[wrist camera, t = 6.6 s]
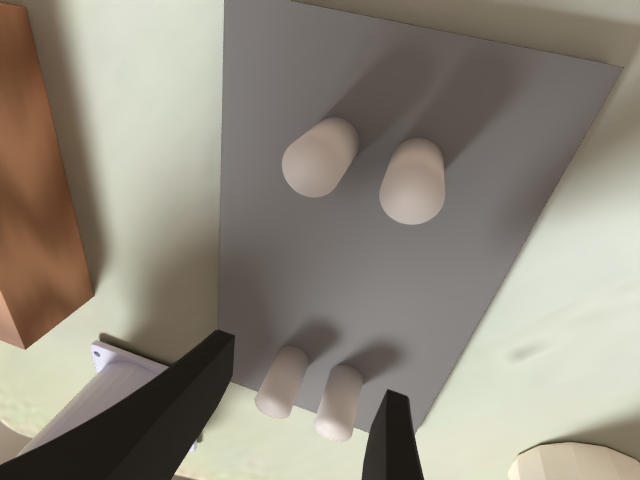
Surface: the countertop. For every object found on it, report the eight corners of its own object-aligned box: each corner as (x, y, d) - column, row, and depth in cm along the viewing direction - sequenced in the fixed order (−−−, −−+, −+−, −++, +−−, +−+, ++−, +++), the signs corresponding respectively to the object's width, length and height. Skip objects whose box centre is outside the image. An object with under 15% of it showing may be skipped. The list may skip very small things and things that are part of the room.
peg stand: (408, 431, 21) (403, 504, 18) (224, 364, 23) (189, 419, 20) (609, 64, 11) (687, 79, 7) (238, -10, 12) (166, -25, 9)
